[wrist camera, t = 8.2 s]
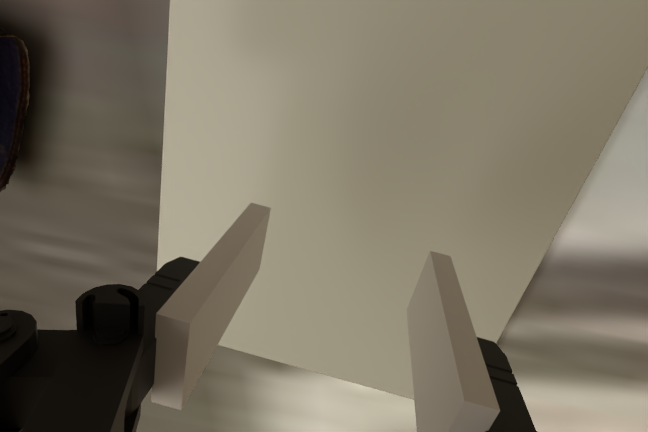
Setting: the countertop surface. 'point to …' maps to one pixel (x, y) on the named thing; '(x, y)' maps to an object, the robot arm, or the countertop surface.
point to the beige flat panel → (385, 156)
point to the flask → (12, 101)
